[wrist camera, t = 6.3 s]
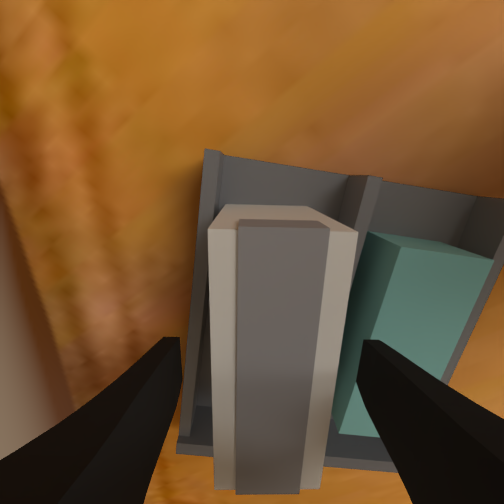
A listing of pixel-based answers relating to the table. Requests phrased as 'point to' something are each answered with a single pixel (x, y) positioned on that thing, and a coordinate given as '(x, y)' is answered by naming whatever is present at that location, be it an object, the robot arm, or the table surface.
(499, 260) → the grey divided tray
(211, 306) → the grey striped bar
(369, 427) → the teal rectangular prism
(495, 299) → the table surface
